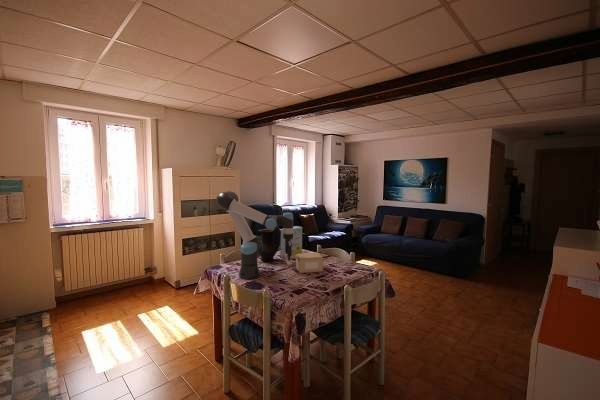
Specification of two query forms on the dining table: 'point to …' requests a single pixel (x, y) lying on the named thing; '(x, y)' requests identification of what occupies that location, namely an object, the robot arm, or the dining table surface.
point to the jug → (269, 244)
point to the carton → (309, 265)
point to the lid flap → (306, 256)
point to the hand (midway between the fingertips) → (288, 263)
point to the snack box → (296, 242)
